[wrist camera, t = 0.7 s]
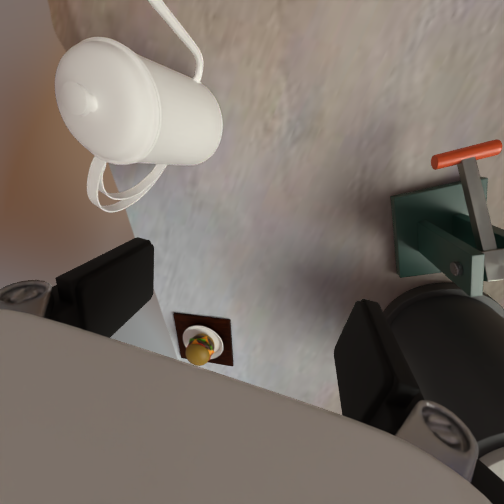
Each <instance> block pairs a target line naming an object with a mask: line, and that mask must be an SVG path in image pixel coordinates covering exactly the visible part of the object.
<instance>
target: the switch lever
mask: <svg viewBox="0 0 504 504" xmlns="http://www.w3.org/2000/svg"><path fill="white" fill-rule="evenodd" d="M501 150H502V143H501V141H500V140H492V141H488V142H484V143H480V144H476V145H472V146H469V147H465V148H461V149H457V150H453V151H449V152H445V153H441V154H437V155H434V156H433V157H432V159H431V165H432V168H433V169H435V170H436V169H440V168H444V167H449V166H453V165H457V167H458V171H459V175H460V179H461V184H462V188H463V192H464V197H465V201H466V205H467V209H468V214H469V218H470V222H471V227H472V231H473V235H474V239H475V244H476V248H477V250H479V251H480V252H482V253H484V254H485V260H484V278H483V281H488V282H489V281H498V280H504V248H497V245H496V241H495V237H494V233H493V229H492V224H491V220H490V216H489V212H488V208H487V204H486V199H485V195H484V191H483V187H482V183H481V179H480V174H479V170H478V166H477V162H476V160H478V159H482V158H486V157H490V156H495V155H498V154H499V153H500V152H501Z"/></svg>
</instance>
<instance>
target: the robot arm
mask: <svg viewBox="0 0 504 504" xmlns="http://www.w3.org/2000/svg"><path fill="white" fill-rule="evenodd" d="M153 280H154V246H153V245H152V244H151V242H150V241H149V240H146V239H142V238H138V237H137V238H134V239H132V240H130V241H129V242H126V243H124V244H122V245H120V246H118V247H116V248H114V249H112V250H110V251H108V252H106V253H105V254H102V255H100V256H98V257H97V258H94V259H92V260H90V261H88V262H87V263H84V264H83V265H81V266H78V267H76V268H74V269H72V270H70V271H68V272H66V273H64V274H62V275H60V276H58V277H56V283H57V285H56V286H54V287H52V286H51V285H50V284H49V283H48V282H45V281H40V280H28V281H21V282H17V283H13V284H10V285H8V286H5V287H3V288H1V289H0V504H504V481H503V480H502V479H501V478H499V477H498V476H497V475H496V474H495V473H494V472H493V471H492V470H490V469H489V468H488V467H487V466H486V465H485V464H484V463H482V462H481V461H480V460H479V459H478V454H479V446H478V444H477V441H476V439H475V437H474V435H473V434H472V432H471V431H470V429H469V428H468V427H467V426H466V425H465V424H464V423H463V421H462V420H461V419H460V418H458V417H457V416H456V415H455V414H454V413H453V412H451V411H450V410H448V409H447V408H445V407H444V406H442V405H440V404H438V403H436V402H433V401H429V400H425V399H424V397H423V395H422V393H421V391H420V388H419V386H418V384H417V381H416V379H415V377H414V375H413V373H412V371H411V369H410V367H409V365H408V363H407V361H406V359H405V357H404V355H403V353H402V351H401V349H400V346H399V344H398V342H397V340H396V338H395V336H394V334H393V332H392V330H391V328H390V326H389V324H388V322H387V320H386V318H385V316H384V314H383V312H382V309H381V307H380V305H379V304H378V303H377V302H374V301H370V300H366V299H362V300H361V301H357V302H356V303H355V305H354V307H353V309H352V311H351V313H350V316H349V318H348V320H347V322H346V324H345V326H344V329H343V331H342V333H341V335H340V337H339V339H338V342H337V344H336V346H335V349H334V359H335V366H336V373H337V380H338V387H339V394H340V401H341V408H342V415H340V414H337V413H334V412H331V411H328V410H325V409H323V408H320V407H317V406H314V405H311V404H308V403H305V402H302V401H300V400H297V399H294V398H291V397H288V396H285V395H282V394H279V393H276V392H273V391H270V390H267V389H264V388H261V387H258V386H255V385H252V384H249V383H246V382H243V381H240V380H237V379H234V378H231V377H228V376H225V375H222V374H219V373H216V372H213V371H210V370H207V369H204V368H201V367H197V366H194V365H191V364H188V363H185V362H182V361H179V360H176V359H173V358H170V357H167V356H164V355H161V354H158V353H155V352H151V351H149V350H145V349H142V348H139V347H136V346H133V345H130V344H127V343H123V342H121V341H118V340H114V339H111V338H110V337H111V336H112V335H113V334H114V333H115V332H116V331H117V330H118V329H119V328H120V327H121V326H123V325H124V324H125V323H126V322H127V321H128V320H129V319H130V318H131V317H132V316H133V315H134V314H135V313H136V312H137V311H138V310H139V309H140V308H142V307H143V306H144V305H145V304H146V303H147V302H148V301H149V300H150V299H151V297H152V295H153Z"/></svg>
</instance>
